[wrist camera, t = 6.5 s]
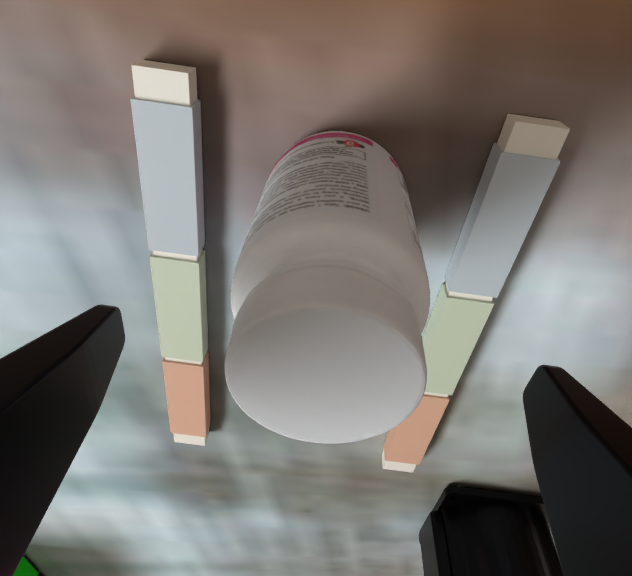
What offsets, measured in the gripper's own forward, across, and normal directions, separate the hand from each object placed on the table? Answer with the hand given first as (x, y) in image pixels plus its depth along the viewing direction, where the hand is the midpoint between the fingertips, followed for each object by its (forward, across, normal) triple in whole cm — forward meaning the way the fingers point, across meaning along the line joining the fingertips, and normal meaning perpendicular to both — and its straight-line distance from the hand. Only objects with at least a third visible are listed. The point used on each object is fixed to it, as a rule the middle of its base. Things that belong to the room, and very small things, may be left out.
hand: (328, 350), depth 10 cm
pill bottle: (+8, 0, 0) cm, 8 cm away
